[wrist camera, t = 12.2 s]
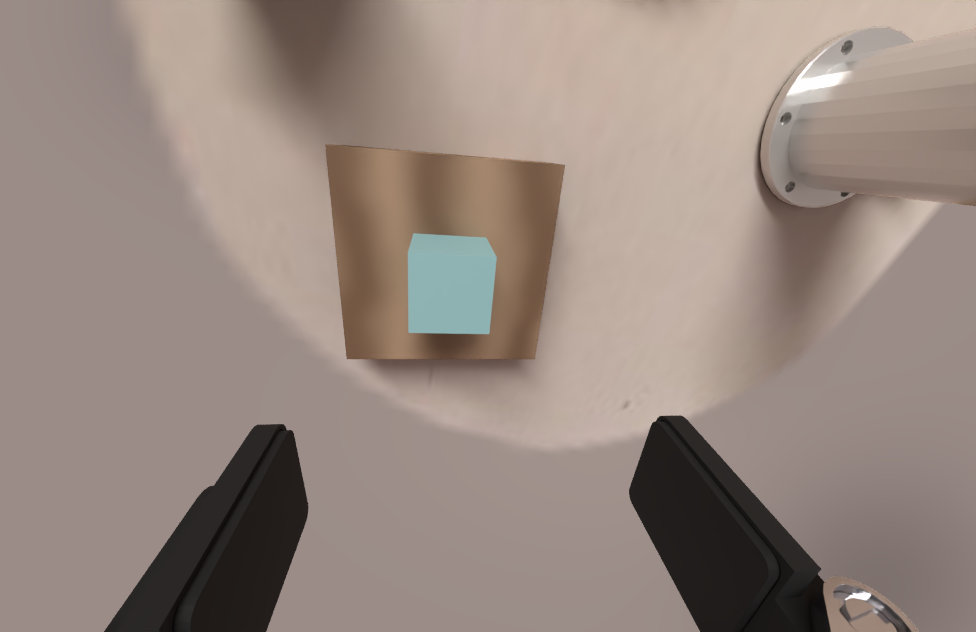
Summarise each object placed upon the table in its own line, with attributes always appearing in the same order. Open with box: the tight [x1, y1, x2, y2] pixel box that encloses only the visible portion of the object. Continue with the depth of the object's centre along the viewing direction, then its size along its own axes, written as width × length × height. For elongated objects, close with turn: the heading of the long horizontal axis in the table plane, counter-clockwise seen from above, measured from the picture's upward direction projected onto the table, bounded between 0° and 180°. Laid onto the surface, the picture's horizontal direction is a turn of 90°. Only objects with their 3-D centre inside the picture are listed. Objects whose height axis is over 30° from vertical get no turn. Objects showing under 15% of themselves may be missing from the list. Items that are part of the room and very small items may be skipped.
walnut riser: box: [325, 145, 565, 359], centre depth 28 cm, size 15×15×4 cm
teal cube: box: [408, 233, 497, 334], centre depth 23 cm, size 5×5×5 cm
